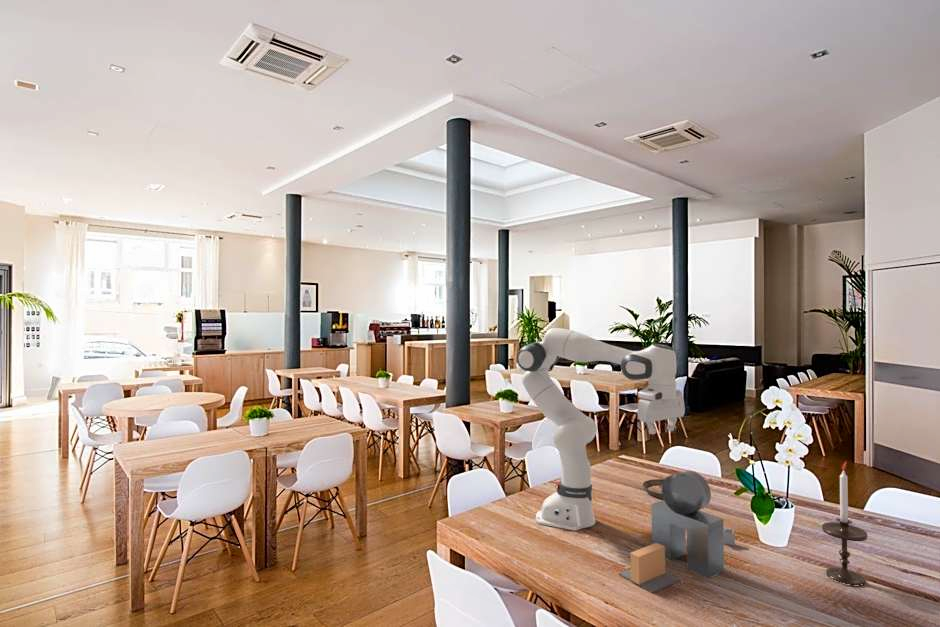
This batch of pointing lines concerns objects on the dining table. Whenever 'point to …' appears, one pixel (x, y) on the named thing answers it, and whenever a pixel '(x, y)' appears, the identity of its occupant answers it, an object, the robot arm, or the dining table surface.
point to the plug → (647, 563)
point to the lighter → (729, 536)
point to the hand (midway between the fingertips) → (661, 432)
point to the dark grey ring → (654, 483)
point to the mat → (653, 581)
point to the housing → (689, 524)
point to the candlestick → (844, 537)
